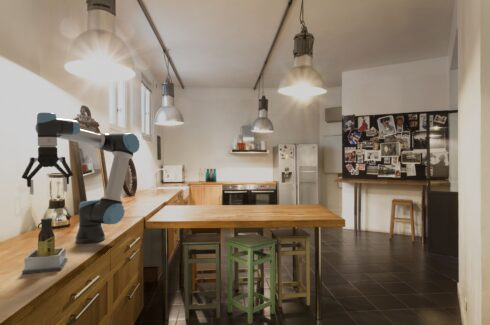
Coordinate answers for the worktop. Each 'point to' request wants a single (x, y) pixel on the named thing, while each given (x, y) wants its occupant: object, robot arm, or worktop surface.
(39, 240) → the sauce bottle
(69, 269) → the worktop surface
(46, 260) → the open gray square box
